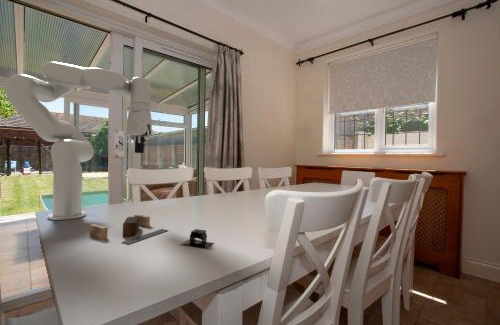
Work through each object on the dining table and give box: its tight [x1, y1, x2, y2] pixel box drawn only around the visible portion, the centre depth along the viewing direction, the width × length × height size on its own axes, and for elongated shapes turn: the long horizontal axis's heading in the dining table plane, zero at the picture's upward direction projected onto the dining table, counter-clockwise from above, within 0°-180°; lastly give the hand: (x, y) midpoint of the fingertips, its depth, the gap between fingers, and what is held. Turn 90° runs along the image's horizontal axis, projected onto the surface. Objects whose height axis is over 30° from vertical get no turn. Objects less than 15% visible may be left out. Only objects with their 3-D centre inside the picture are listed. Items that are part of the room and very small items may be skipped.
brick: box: [122, 216, 140, 238], centre depth 84 cm, size 11×4×5 cm, turn 19°
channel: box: [89, 213, 151, 240], centre depth 85 cm, size 6×18×4 cm, turn 154°
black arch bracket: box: [179, 228, 215, 250], centre depth 75 cm, size 12×7×5 cm, turn 74°
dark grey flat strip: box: [121, 228, 169, 246], centre depth 80 cm, size 3×16×1 cm, turn 154°
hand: (139, 152), depth 103 cm, fingers closed
